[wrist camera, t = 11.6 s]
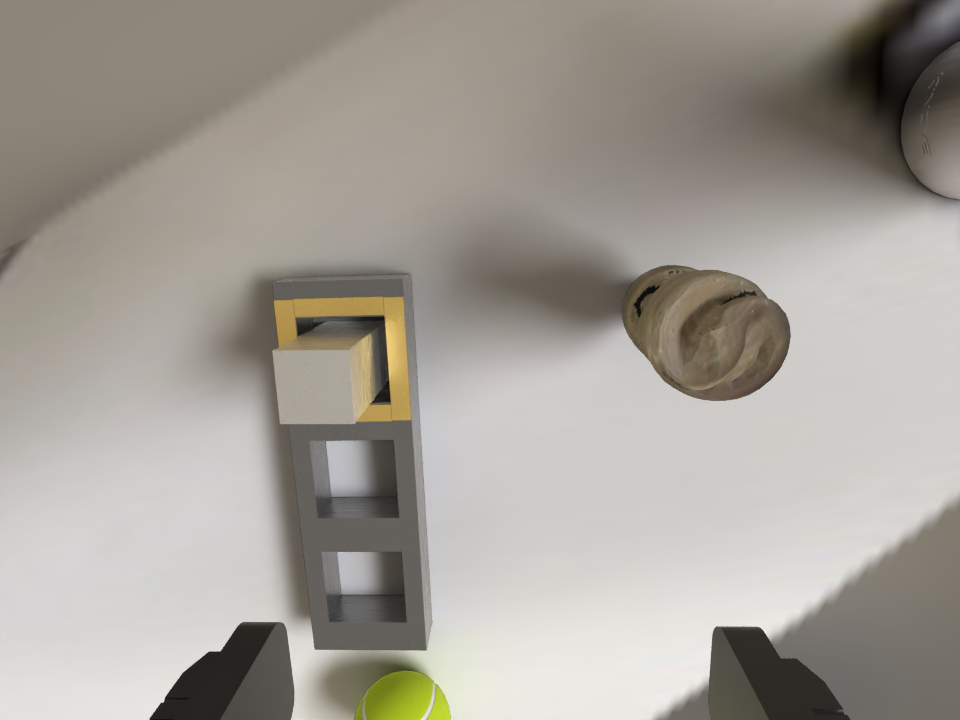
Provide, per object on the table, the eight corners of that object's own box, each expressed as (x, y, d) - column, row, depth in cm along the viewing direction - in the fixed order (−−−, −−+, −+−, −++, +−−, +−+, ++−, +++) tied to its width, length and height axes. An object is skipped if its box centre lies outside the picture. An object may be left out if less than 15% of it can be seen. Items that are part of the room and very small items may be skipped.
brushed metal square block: (385, 320, 38) (349, 349, 29) (389, 378, 39) (354, 424, 30) (326, 321, 38) (272, 350, 29) (331, 379, 39) (280, 424, 30)
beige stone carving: (592, 333, 37) (645, 403, 23) (609, 248, 36) (676, 266, 22) (678, 346, 37) (786, 425, 23) (698, 262, 36) (825, 289, 22)
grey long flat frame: (410, 273, 37) (402, 278, 34) (432, 621, 43) (426, 651, 40) (290, 277, 38) (271, 282, 35) (327, 621, 44) (314, 650, 41)
